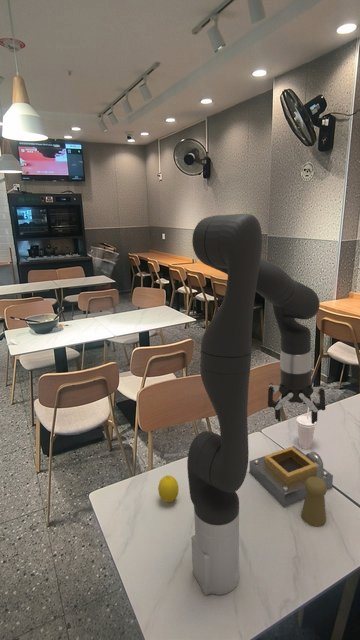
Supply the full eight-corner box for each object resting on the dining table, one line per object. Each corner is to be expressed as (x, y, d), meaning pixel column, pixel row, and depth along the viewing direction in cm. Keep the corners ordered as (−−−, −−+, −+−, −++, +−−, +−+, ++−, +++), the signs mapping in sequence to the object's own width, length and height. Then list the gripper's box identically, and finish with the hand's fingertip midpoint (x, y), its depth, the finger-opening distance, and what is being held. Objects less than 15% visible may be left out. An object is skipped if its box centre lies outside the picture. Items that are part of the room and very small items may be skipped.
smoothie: (319, 448, 122) (321, 410, 119) (303, 453, 120) (305, 414, 116) (306, 438, 128) (308, 402, 124) (291, 443, 126) (292, 406, 122)
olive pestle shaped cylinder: (328, 528, 90) (331, 490, 88) (302, 525, 92) (304, 487, 89) (324, 510, 96) (326, 474, 93) (300, 507, 97) (301, 471, 95)
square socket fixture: (284, 507, 97) (284, 486, 96) (249, 472, 112) (249, 453, 110) (336, 485, 105) (337, 466, 103) (297, 455, 119) (298, 437, 117)
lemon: (166, 491, 105) (164, 467, 103) (182, 498, 102) (181, 473, 100) (155, 504, 100) (153, 479, 98) (172, 511, 98) (170, 485, 96)
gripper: (266, 371, 91) (267, 427, 96) (327, 373, 87) (326, 431, 92) (267, 359, 98) (269, 411, 103) (324, 360, 94) (323, 414, 99)
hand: (296, 421), depth 98 cm, fingers open, 8 cm apart
